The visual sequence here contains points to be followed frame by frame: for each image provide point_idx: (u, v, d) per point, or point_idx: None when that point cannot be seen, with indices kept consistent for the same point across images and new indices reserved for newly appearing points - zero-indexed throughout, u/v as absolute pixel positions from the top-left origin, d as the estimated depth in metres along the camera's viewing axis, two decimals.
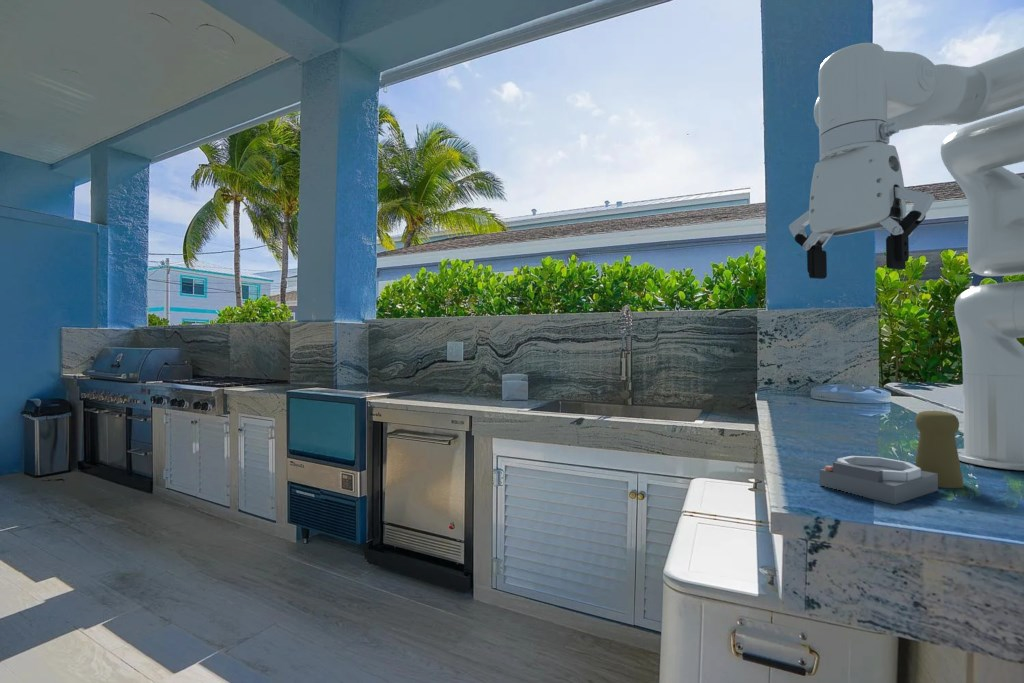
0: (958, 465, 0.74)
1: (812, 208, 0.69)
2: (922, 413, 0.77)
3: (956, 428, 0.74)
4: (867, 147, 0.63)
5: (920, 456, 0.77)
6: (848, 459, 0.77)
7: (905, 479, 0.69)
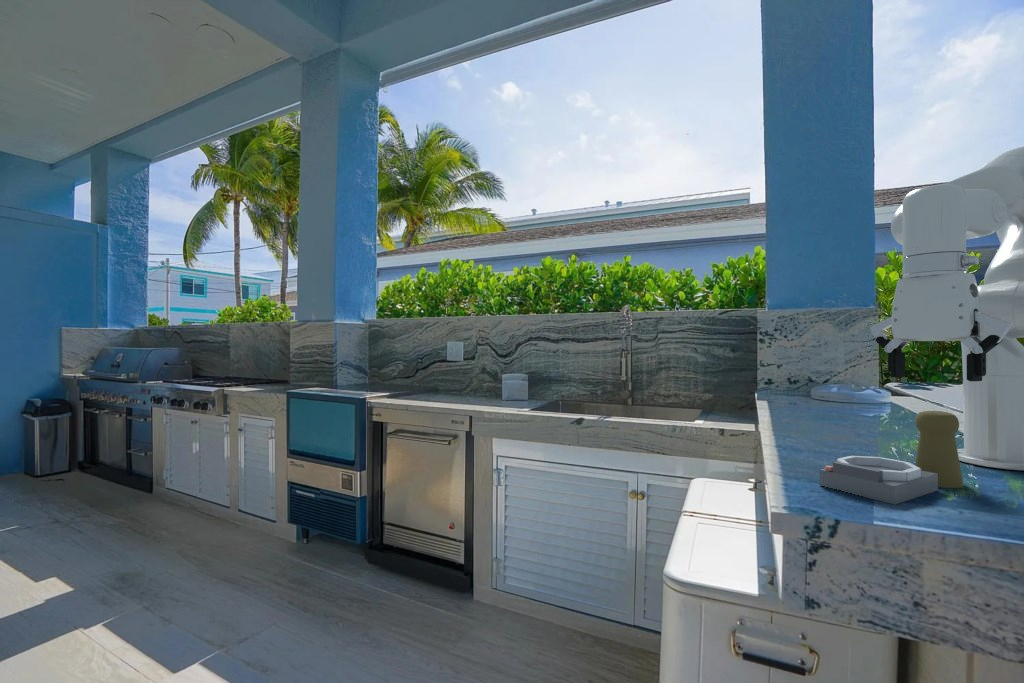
0: (958, 465, 0.74)
1: (895, 318, 0.79)
2: (922, 413, 0.77)
3: (956, 428, 0.74)
4: (950, 275, 0.73)
5: (920, 456, 0.77)
6: (848, 459, 0.77)
7: (905, 479, 0.69)
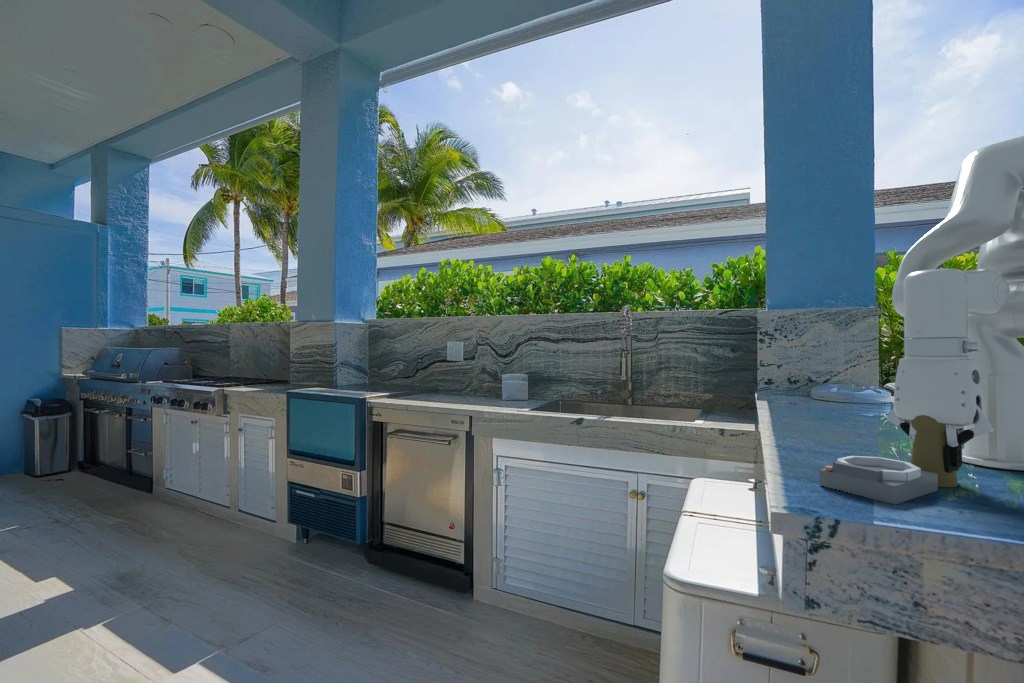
0: None
1: (898, 397, 0.79)
2: None
3: None
4: (952, 361, 0.73)
5: (915, 455, 0.77)
6: (848, 459, 0.77)
7: (905, 479, 0.69)
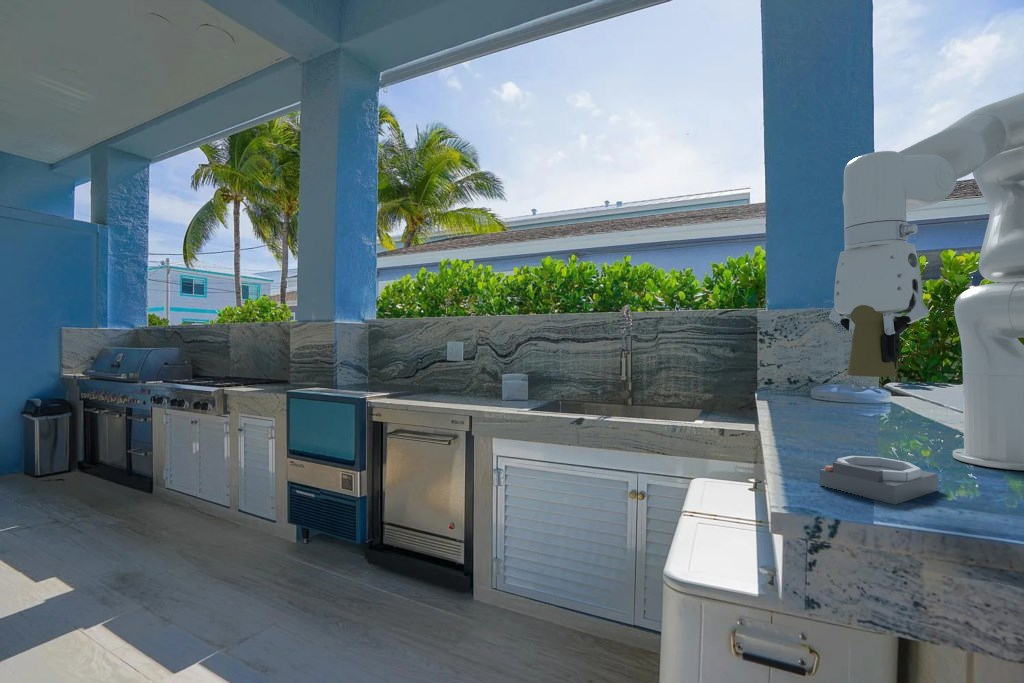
0: None
1: (837, 291, 0.77)
2: None
3: None
4: (889, 244, 0.70)
5: (853, 349, 0.75)
6: (848, 459, 0.77)
7: (905, 479, 0.69)
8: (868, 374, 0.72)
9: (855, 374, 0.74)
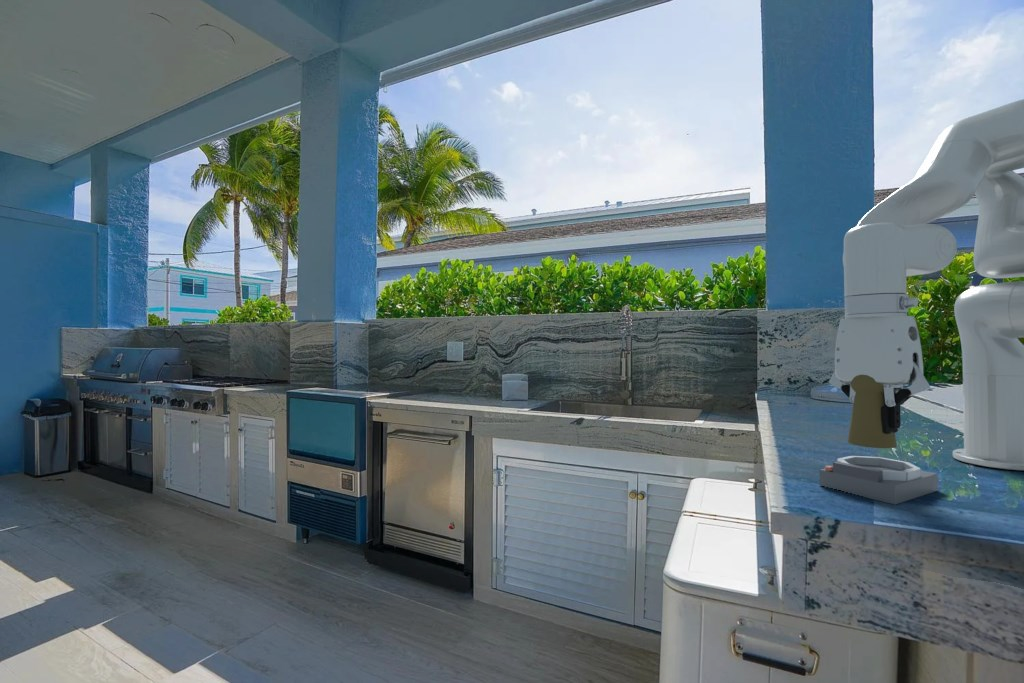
0: None
1: (838, 358, 0.77)
2: None
3: None
4: (889, 317, 0.70)
5: (854, 417, 0.75)
6: (848, 459, 0.77)
7: (905, 479, 0.69)
8: (869, 445, 0.72)
9: (856, 443, 0.74)
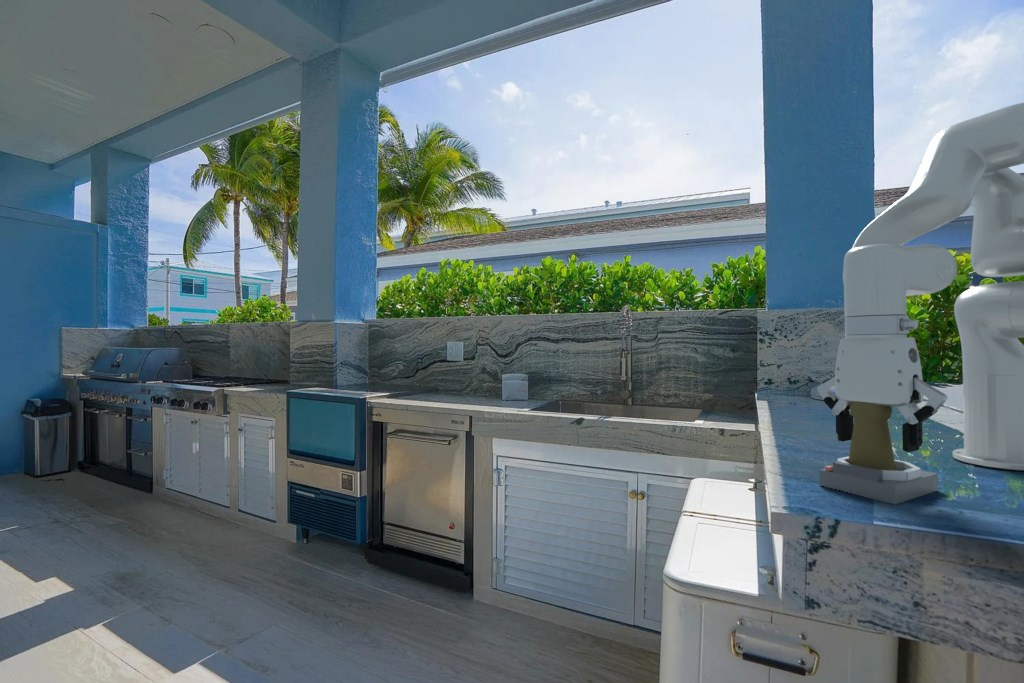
0: (890, 452, 0.73)
1: (838, 378, 0.77)
2: None
3: (888, 414, 0.73)
4: (889, 339, 0.70)
5: (854, 443, 0.75)
6: (848, 459, 0.77)
7: (905, 479, 0.69)
8: None
9: None
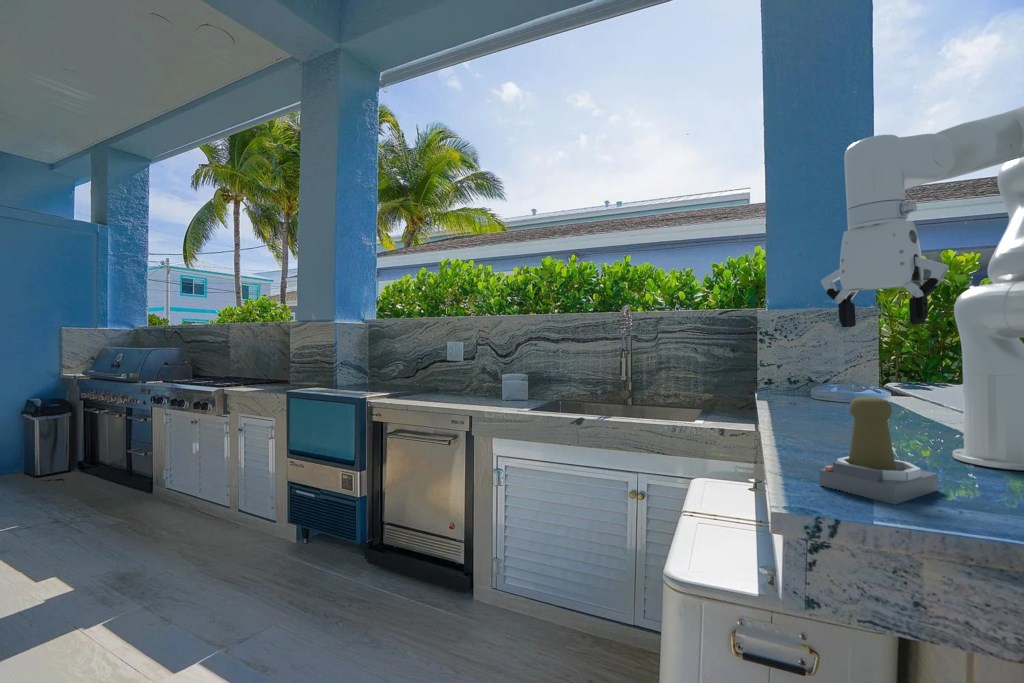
0: (890, 452, 0.73)
1: (843, 269, 0.81)
2: (856, 399, 0.75)
3: (888, 414, 0.73)
4: (890, 223, 0.75)
5: (854, 444, 0.75)
6: (848, 459, 0.77)
7: (905, 479, 0.69)
8: None
9: None
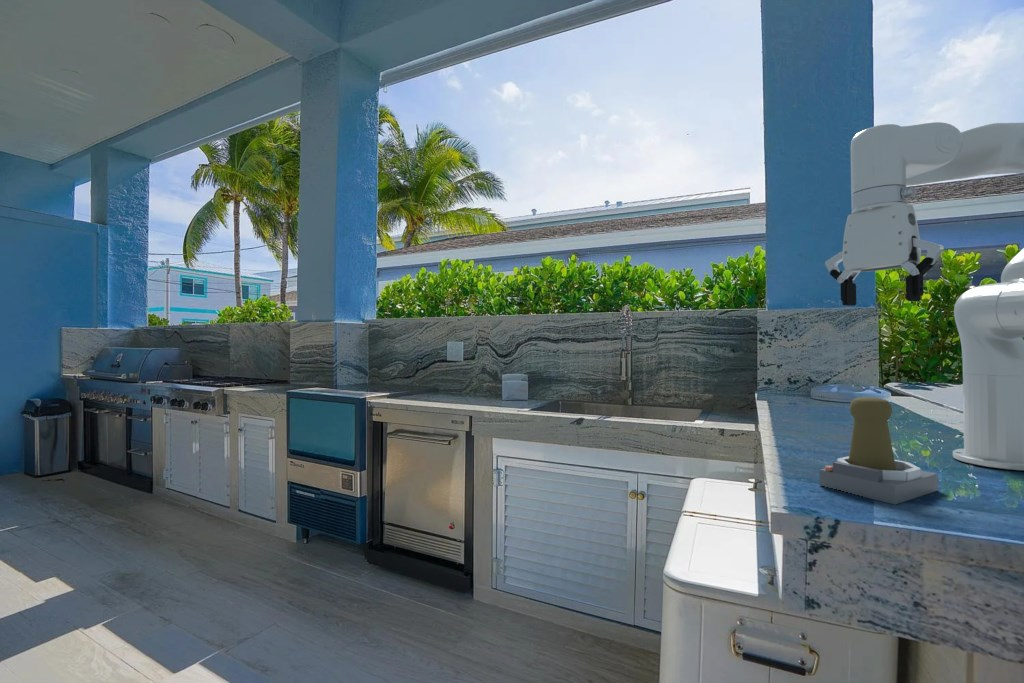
0: (890, 452, 0.73)
1: (845, 250, 0.87)
2: (856, 399, 0.75)
3: (888, 414, 0.73)
4: (891, 206, 0.80)
5: (854, 444, 0.75)
6: (848, 459, 0.77)
7: (905, 479, 0.69)
8: None
9: None
